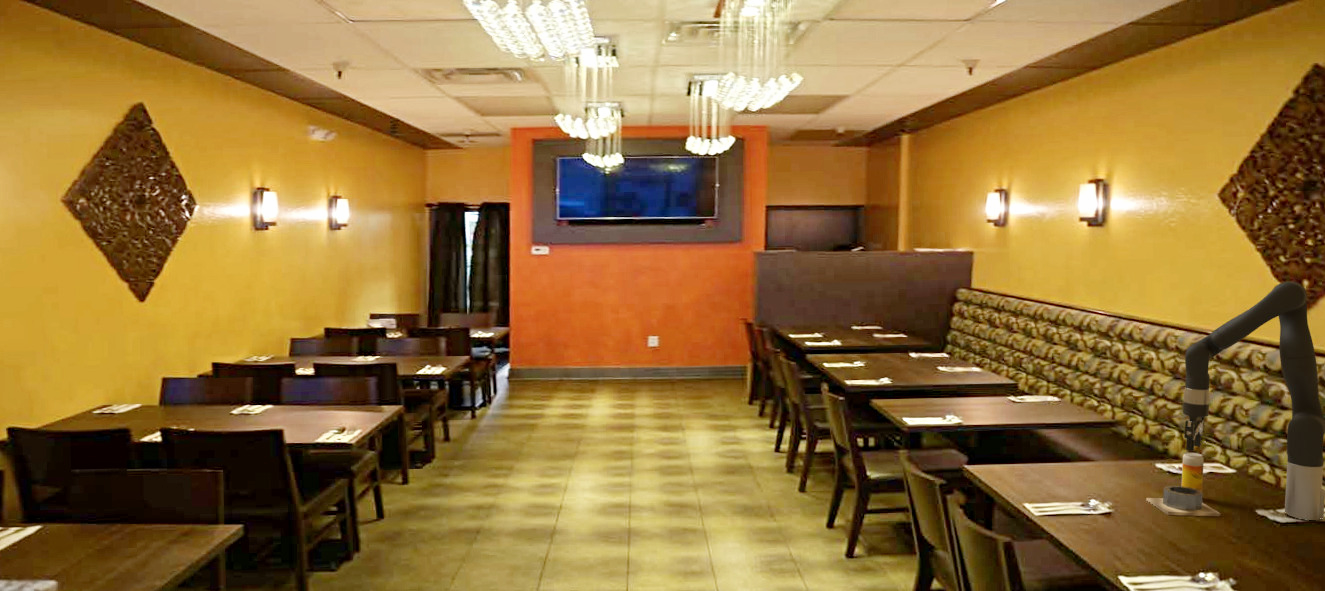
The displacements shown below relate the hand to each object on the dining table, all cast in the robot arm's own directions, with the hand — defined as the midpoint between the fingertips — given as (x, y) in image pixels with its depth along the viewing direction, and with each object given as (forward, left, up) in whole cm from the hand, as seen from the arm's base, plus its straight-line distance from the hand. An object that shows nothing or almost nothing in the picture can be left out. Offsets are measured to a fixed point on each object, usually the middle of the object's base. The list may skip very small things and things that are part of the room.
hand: (1193, 448), depth 301 cm
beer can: (0, 0, -17) cm, 17 cm away
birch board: (+9, +13, -17) cm, 23 cm away
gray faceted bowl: (+9, +13, -17) cm, 23 cm away
